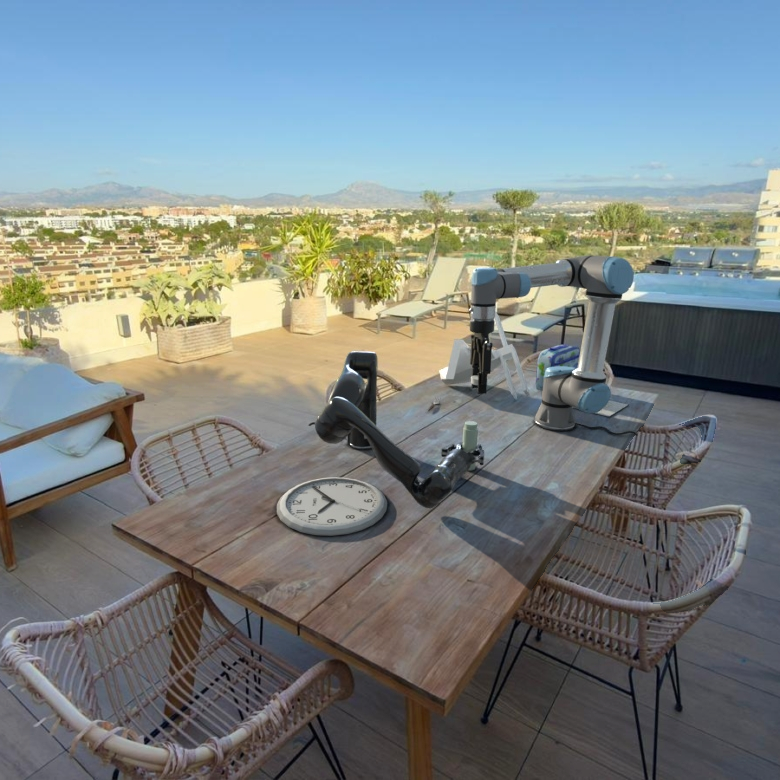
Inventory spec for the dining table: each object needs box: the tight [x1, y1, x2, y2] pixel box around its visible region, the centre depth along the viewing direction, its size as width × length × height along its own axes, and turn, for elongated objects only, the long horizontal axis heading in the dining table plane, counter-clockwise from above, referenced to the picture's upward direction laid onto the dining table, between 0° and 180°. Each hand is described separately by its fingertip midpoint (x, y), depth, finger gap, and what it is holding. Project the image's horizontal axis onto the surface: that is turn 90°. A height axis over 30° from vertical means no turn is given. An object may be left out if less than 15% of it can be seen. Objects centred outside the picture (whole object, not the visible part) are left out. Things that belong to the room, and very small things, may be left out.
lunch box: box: [535, 344, 581, 392], centre depth 247 cm, size 26×11×21 cm, turn 134°
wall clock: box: [276, 476, 388, 537], centre depth 142 cm, size 30×2×30 cm
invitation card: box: [575, 399, 629, 418], centre depth 226 cm, size 21×1×15 cm
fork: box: [427, 396, 442, 412], centre depth 222 cm, size 3×16×2 cm, turn 160°
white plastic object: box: [438, 310, 531, 400], centre depth 245 cm, size 37×45×31 cm
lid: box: [470, 375, 488, 385], centre depth 168 cm, size 5×5×2 cm
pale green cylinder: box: [462, 420, 479, 472], centre depth 165 cm, size 4×4×15 cm
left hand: (471, 445), depth 167 cm, fingers closed on pale green cylinder, 4 cm apart
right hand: (478, 390), depth 169 cm, fingers closed on lid, 5 cm apart
